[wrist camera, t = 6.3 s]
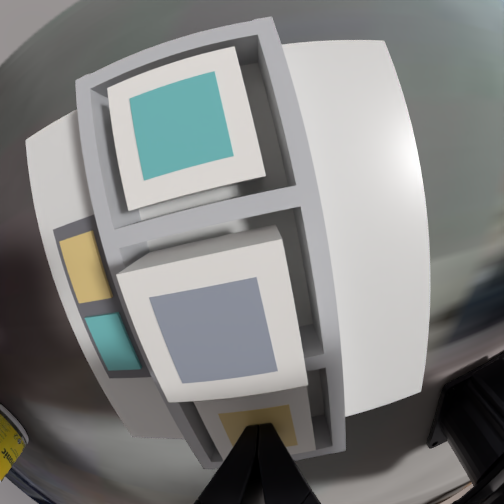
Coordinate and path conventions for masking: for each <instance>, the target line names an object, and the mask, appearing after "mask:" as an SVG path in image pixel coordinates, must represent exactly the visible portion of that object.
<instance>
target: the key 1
mask: <svg viewBox="0 0 504 504" xmlns="http://www.w3.org/2000/svg"><path fill="white" fill-rule="evenodd" d="M107 90H108V100H109V108H110V116H111V123H112V130H113V136H114V142H115V148H116V154H117V159H118V165H119V170H120V175H121V180H122V184H123V189H124V194H125V198H126V202H127V207H128V211H131V210H135V209H140V208H144V207H149V206H153V205H157V204H161V203H164V202H168V201H172V200H175V199H179V198H183V197H187V196H191V195H194V194H198V193H202V192H206V191H210V190H215V189H219V188H223V187H227V186H231V185H236V184H240V183H245V182H249V181H254V180H259V179H263V178H265V177H266V174H265V169H264V165H263V160H262V156H261V152H260V147H259V143H258V139H257V134H256V130H255V126H254V122H253V118H252V113H251V109H250V105H249V101H248V97H247V93H246V89H245V85H244V81H243V77H242V73H241V69H240V65H239V62H238V58H237V54H236V50H235V46H234V47H229V48H224V49H220V50H216V51H212V52H208V53H204V54H200V55H196V56H193V57H189V58H186V59H183V60H179V61H176V62H173V63H170V64H167V65H164V66H161V67H158V68H155V69H153V70H150V71H147V72H144V73H142V74H139V75H137V76H134V77H132V78H129V79H127V80H124V81H122V82H120V83H117V84H115V85H113V86H111V87H108V88H107Z"/></svg>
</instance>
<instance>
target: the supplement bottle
mask: <svg viewBox="0 0 504 504" xmlns="http://www.w3.org/2000/svg"><path fill="white" fill-rule="evenodd" d="M28 441H29V439H28V435H27V433H26V431H25V430H24V428H23V427H22V425H21V424H20V423H19V421H18V420H17V419H16V418H15V417H14V416H13V415H12V414H11V413H10V412H9V411H8V410H7V409H6V408H5V407H3V406H2V405H1V404H0V483H1V482H2V480H3V479H4V477H5V476H6V474H7V473H8V471H9V470H10V468H11V467H12V465H13V464H14V462H15V461H16V459H17V458H18V457H19V455H20V454H21V452H22V451H23V450H24V448H25V447H26V445H27V444H28Z"/></svg>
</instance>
